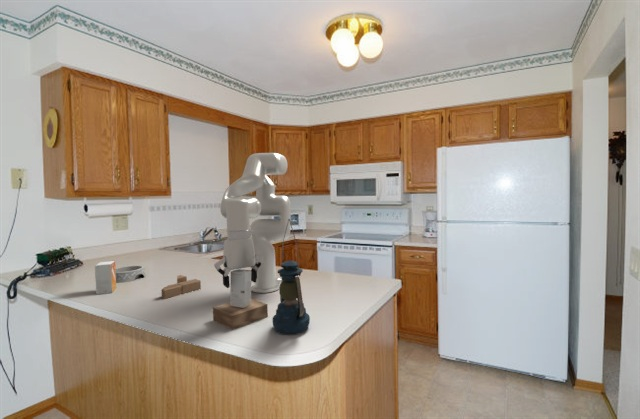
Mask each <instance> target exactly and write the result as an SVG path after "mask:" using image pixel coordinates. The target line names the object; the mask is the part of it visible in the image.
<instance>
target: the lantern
mask: <svg viewBox="0 0 640 419" xmlns="http://www.w3.org/2000/svg"><path fill="white" fill-rule="evenodd" d="M289 221H290V219H288V222H289ZM287 226H288V223H287ZM290 229H291V231H292V234H293V238H294V241H295V246H296V256H297V257H296V258H297V261H294V260H286V261H284V244H281V245H282V249H281V250H282V253H281V254H282V258H281V259H282V260H281V262H282V263H280V269H278V270H277V274H279V278H280V279H281V278H282V279H281V282H280V283H279V286H280V287H279V289H278V291H279V295H280V296H279V298H280V299H279V300H280V301H279V302H280V303H278V304H277V309H275V314H274V316H272V325H273V326H272V327H273V328H274V330H275V332H277V333H278V334H280V335H288V336H290V335H291V336H292V335H297V334H298V335H299V334H301V333H304V332H305V331H306V330H307V329H308V328H309V325H310V320H311V318H310V315H309V313H307V310H306V308H305V303H304V301H303V300H304V299H303V293H302V285H301V279H300V276H301V274H302V273H303V269H302V268H301V267H299V266H300V264H299V249H298V242H297V240H296V236H295V233H294V230H293V226H292V222H290ZM286 230H287V227H286ZM285 234H286V231H285ZM284 238H285V235H284ZM284 241H285V240H284V239H283V240H282V243H284Z"/></svg>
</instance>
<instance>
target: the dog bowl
mask: <svg viewBox="0 0 640 419" xmlns="http://www.w3.org/2000/svg"><path fill="white" fill-rule="evenodd" d="M115 269H116V284H120V283H128V282H129V283H130V282H134V281H135V279H137V278H140V277H141V276H142V275H143V277H144V278H147V273H146V271H145V267H144V266H143V265H126V266H120V267H115Z"/></svg>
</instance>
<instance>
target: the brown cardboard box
mask: <svg viewBox="0 0 640 419" xmlns="http://www.w3.org/2000/svg"><path fill="white" fill-rule="evenodd" d="M268 312H269V311H268V304H267V303H265V302H262V301H259V300H256V299H254V298H251V305H249V306H247V307H245V308H241V307H235V306H231V305H230V302H226V303H224V304H220V305H216V306H214V307H213V306H212V314H213V315H212V320H213V321H214V322H216V323H218V324H220V325H222V326H224V327H227V328H228V329H231V330H235V329H236V330H237V329H239V328H241V327H243V326H246V325H250V324H252V323H255V322H257V321H260V320H263V319H266V318H267V317H269V315H268V314H269V313H268Z"/></svg>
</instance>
